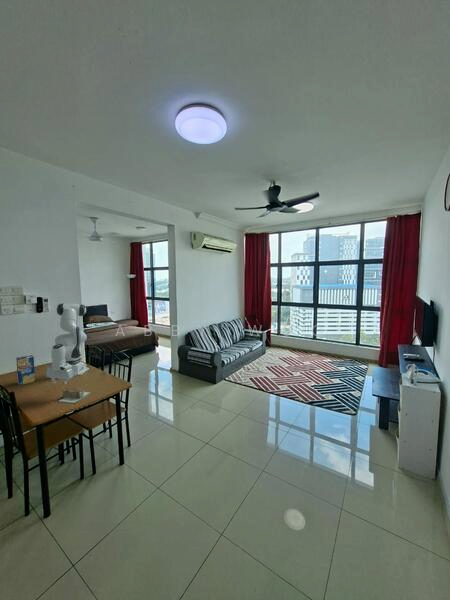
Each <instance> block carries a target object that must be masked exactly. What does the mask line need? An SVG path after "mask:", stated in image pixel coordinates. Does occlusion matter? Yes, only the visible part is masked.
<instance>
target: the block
mask: <svg viewBox="0 0 450 600" xmlns="http://www.w3.org/2000/svg"><path fill="white" fill-rule="evenodd" d="M84 392H85V389H84V388H83V389H82V388H73V387H66V388H65V389H63V390H62V398H64V397H68V398H77V399H80V398H82V397H83V396H84Z"/></svg>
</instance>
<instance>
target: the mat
mask: <svg viewBox="0 0 450 600" xmlns="http://www.w3.org/2000/svg"><path fill="white" fill-rule="evenodd" d="M91 394H92V393H91V392H87V391H84V396H83V397H82V398H80V399H77V398H68V397H62V398H61V399H59V400H58V401H57V402H59V403H68V404H77V403H79V402H80V401H81V400H83V399H85V398H86V397H87V396H89V395H91Z"/></svg>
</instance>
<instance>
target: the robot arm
mask: <svg viewBox="0 0 450 600" xmlns="http://www.w3.org/2000/svg"><path fill="white" fill-rule="evenodd" d="M55 311H56V314H57V315H58V316H61V317H60V321H59V322H60V323H59V326H60V329H62V331H65V332H67V333H62V334H59V335H57V336H56V337H55V339H54V344H55V345H53V346H52V348H51V365H50V364H49V365H47V366H46V373H45V374H46V376H45V377H46V378H50V380H51V382H52V384H56V383H57V380H56V379H62V380H64V381H63V382H62V384H63V385H66V384H67V383H68V380H70V379H72V378H73V377H75V376H81V375H83V374H85V373H86V372H87V371H89V370H90V368H89V367H87V365H86V363H84V362H83V361H82V360H83V357H82V355H83V348H82V343H85V342H86V341H87V338H88V335H87V334H86V333H85V332H83V330H81V328H80V317H83V316H85V314H86V313H87V307H86V305H84V304H80V303H79V304H78V303H59V304H58V305H57V306H56V310H55ZM85 371H86V372H85Z"/></svg>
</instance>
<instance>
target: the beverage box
mask: <svg viewBox="0 0 450 600" xmlns="http://www.w3.org/2000/svg"><path fill="white" fill-rule="evenodd" d="M16 373H17V374H16V375H17V376H16V377H17V384H18V386H21V385H24V384H29V383H35V382H36V380H35V379H36V375H35V373H36V372H35V356H34V355H33V354H31V355H26V356H24V355H23V356H19V357H16Z"/></svg>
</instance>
